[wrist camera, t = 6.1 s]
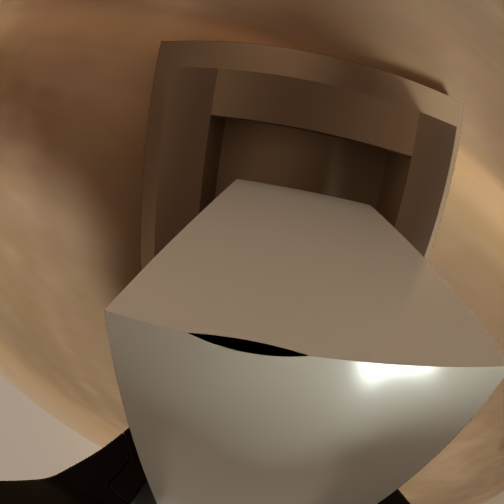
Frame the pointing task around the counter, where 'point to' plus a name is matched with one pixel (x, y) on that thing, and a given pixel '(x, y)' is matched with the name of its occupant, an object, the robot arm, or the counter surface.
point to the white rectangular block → (293, 354)
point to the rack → (293, 136)
